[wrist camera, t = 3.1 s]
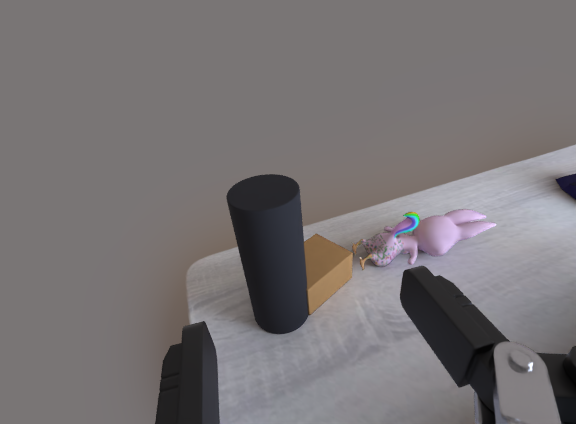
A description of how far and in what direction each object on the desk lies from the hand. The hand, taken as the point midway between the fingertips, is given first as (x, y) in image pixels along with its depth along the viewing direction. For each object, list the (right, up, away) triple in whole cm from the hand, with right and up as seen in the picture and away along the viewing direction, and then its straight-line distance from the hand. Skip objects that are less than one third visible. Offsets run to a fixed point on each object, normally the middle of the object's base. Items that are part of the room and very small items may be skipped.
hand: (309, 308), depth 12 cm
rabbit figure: (+14, -1, +22) cm, 26 cm away
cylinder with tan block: (0, -4, +18) cm, 19 cm away
